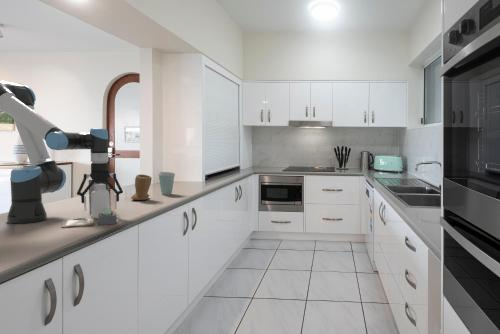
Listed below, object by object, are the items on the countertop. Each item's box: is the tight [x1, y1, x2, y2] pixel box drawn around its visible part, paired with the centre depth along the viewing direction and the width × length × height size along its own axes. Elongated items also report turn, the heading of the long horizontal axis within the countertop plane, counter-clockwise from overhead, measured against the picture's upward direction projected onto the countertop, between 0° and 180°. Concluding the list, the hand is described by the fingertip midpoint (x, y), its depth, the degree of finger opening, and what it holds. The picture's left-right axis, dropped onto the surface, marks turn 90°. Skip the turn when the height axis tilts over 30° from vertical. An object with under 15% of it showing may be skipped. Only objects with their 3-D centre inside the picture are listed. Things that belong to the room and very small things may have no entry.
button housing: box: [98, 212, 117, 226], centre depth 172 cm, size 7×7×4 cm
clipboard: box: [61, 217, 95, 229], centre depth 169 cm, size 12×14×1 cm
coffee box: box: [88, 178, 112, 214], centre depth 198 cm, size 9×6×16 cm
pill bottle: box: [90, 184, 111, 220], centre depth 183 cm, size 8×8×15 cm
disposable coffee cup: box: [157, 171, 176, 196], centre depth 265 cm, size 11×11×15 cm
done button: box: [103, 208, 112, 216], centre depth 171 cm, size 3×3×4 cm
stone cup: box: [130, 174, 152, 201], centre depth 240 cm, size 15×12×15 cm
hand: (100, 209), depth 183 cm, fingers open, 12 cm apart
